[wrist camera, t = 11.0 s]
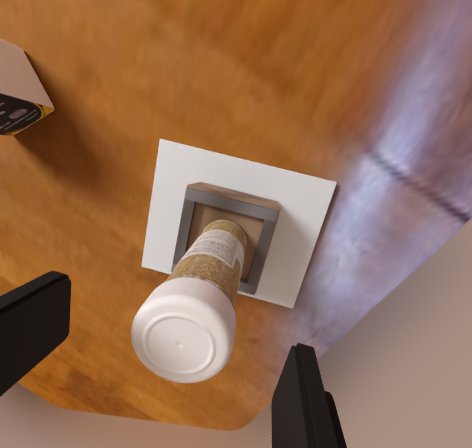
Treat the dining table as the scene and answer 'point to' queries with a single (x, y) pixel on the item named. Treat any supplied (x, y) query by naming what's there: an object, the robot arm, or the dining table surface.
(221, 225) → the sprinkles bottle
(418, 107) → the dining table surface
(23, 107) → the medicine bottle
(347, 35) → the dining table surface
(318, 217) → the white rectangular board
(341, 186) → the dining table surface
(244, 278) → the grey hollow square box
